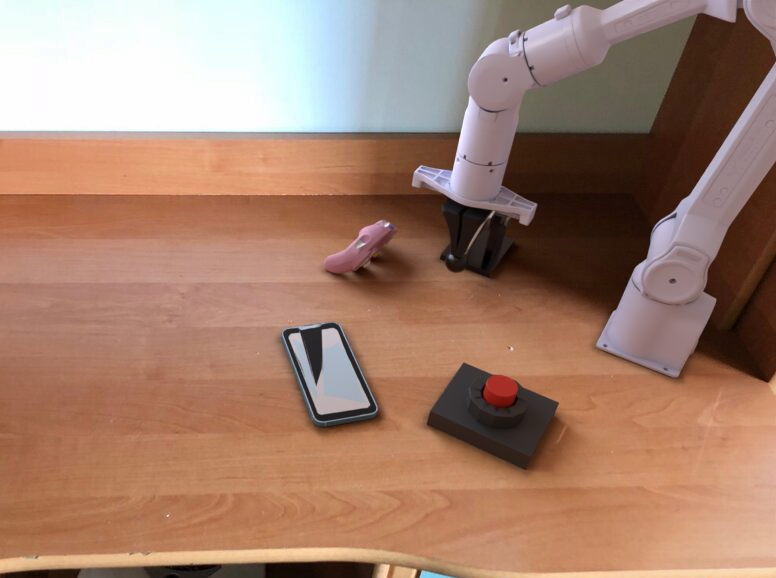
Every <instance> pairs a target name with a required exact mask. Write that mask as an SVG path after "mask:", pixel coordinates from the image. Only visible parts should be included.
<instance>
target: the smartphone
mask: <svg viewBox="0 0 776 578" xmlns="http://www.w3.org/2000/svg"><path fill="white" fill-rule="evenodd" d="M280 338H281V342H282V344H283V347H284V350H285V352H286V354H287V358H288V361H289V363H290V366H291V368H292V371H293V373H294V376H295V379H296V381H297V384H298V387H299V389H300V392H301V395H302V398H303V400H304V402H305V405H306V409H307V411H308V414H309V416H310V420H311V422H312V423H313V424H314V425H315V426H317V427H320V428H324V427H330V426H336V425H341V424H347V423H354V422H359V421H360V422H361V421H365V420H370V419H374V418H375V417H377V415H378V412H379V406H378V404H377V401H376V399H375V398H374V395H373V393H372V390H371V389H370V386H369V384H368V382H367V379H366V377H365V375H364V373H363V370H362V368H361V367H360V364H359V362H358V360H357V357H356V355H355V353H354V351H353V348H352V346H351V344H350V342H349V339H348V338H347V336H346V333H345V332H344V330H343V327H342V325H341V324H340V323H339V322H336V321H326V322H325V321H324V322H319V323H313V324H305V325H304V324H303V325H297V326H291V327H286V328H284V329H282V331H281V335H280Z"/></svg>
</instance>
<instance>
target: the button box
mask: <svg viewBox="0 0 776 578" xmlns="http://www.w3.org/2000/svg"><path fill="white" fill-rule="evenodd" d="M494 375H495V374H492V373H490V372H488V371H485V370H483V369H482V368H481V369H480V368H478V367H476V366H473V365H471V364H469V363H466V362H465V361H464V362H462V363H461V365H460V367H459V368H458V369H457V371H456V372H455V374H454V375H453V376H452V378H451V380H450V381H449V383H448V384H447V386H446V387H445V388H444V389H443V391H442V393H441V394H440V395H439V398H438V399H437V400H436V401H435V403H434V404H433V406H432V407H431V409H430V411H429V414H428V417H427V421H426V425H427V426H429V427H430V428H432V429H435V430H437V431H440V432H442V433H444V434H446V435H448V436H450V437H452V438H455V439H457V440H459V441H461V442H464V443H465V444H468V445H469V446H472V447H474V448H477V449H478V450H480V451H483V452H485V453H487V454H490V455H492V456H494V457H496V458H498V459H500V460H502V461H504V462H506V463H508V464H512V465H513V466H515V467H518V468H520V469H522V470H524V471H526V470H527V468H528V467H529V465H530V463H531V460H532V458H533V457H534V455H535V452H536V451H537V449H538V447H539V445H540V443H541V441H542V439H543V437H544V435H545V433H546V432H547V430H548V428H549V426H550V424H551V422H552V420H553V418H554V416H555V414H556V412H557V409H558V407H559V404H560V402H559V401H557V400H554V399H552V398H549V397H547V396H545V395H542V394H540V393H537V392H535V391H532V390H530V389H528V388H526V387H524V386H522V385H521V383H519V382H518V381H517V380H515V379H513V378H511V379H512V380H514V381H515V382H516V384H517V386H518V391H517V394H516V397H515V400H514V402H513V404H512V405H511V406H509V407H507V408H497V407H494V406H492V405H490V404H488V403H487V402H486V401H485V399H484V397H483V392H484V389H485V386H486V382H487V380H488V379H489V378H490V377H492V376H494Z"/></svg>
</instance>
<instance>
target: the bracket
mask: <svg viewBox="0 0 776 578" xmlns="http://www.w3.org/2000/svg"><path fill="white" fill-rule="evenodd" d="M511 219H512V217H510V216H507V215H504V214H501V213H498V212H496V214H495V215H494V219H493V222H492V226H491V229H490V230H489V231H487V230H484V229H483V231H482V232H481V234H480V235H479V237H478V239H477V240H476V242H475V243H474V245H473V246H472V248H471V250H470V251H469V253H468V254H467V258H468V265H467V267H466V269H465V270H467V271H468V272H471V273H475V274H477V275H480V276H483V277H485V278H488V279H489V278H491V276H492V274H493V273H494V272H495V271H496V269H497V268H498V266H499V265H500V263H502V261H503V260H504V259H505V257H506V255H507V254H508V253H509V251H510V250H511V249H512V248H513V246H514V243H515V239H514V238H510V237H509V236H506V233H507V228H508V227H509V225H510V222H511ZM450 252H451V242H450V243H449V244H448V245H447V246H446V248H444V250H443V251H442V252H441V254H440V256H439V260H440V261H442V262H445V259H446V257H447V255H448V254H449V253H450Z"/></svg>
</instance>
